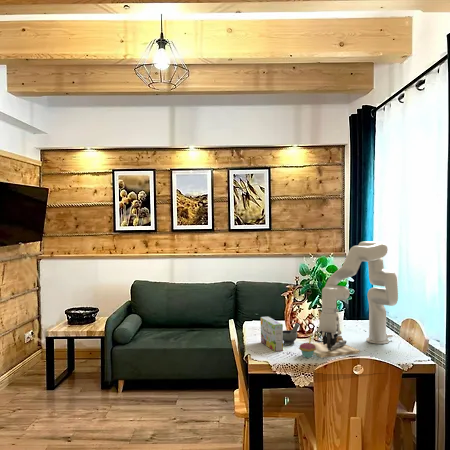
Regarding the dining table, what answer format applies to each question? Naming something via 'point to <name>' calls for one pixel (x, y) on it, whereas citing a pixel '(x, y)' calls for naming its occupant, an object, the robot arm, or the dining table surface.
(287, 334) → the mortar and pestle
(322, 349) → the board
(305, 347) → the cupcake
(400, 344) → the dining table surface
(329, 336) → the lever
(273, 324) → the snack box
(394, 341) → the dining table surface
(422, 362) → the dining table surface
